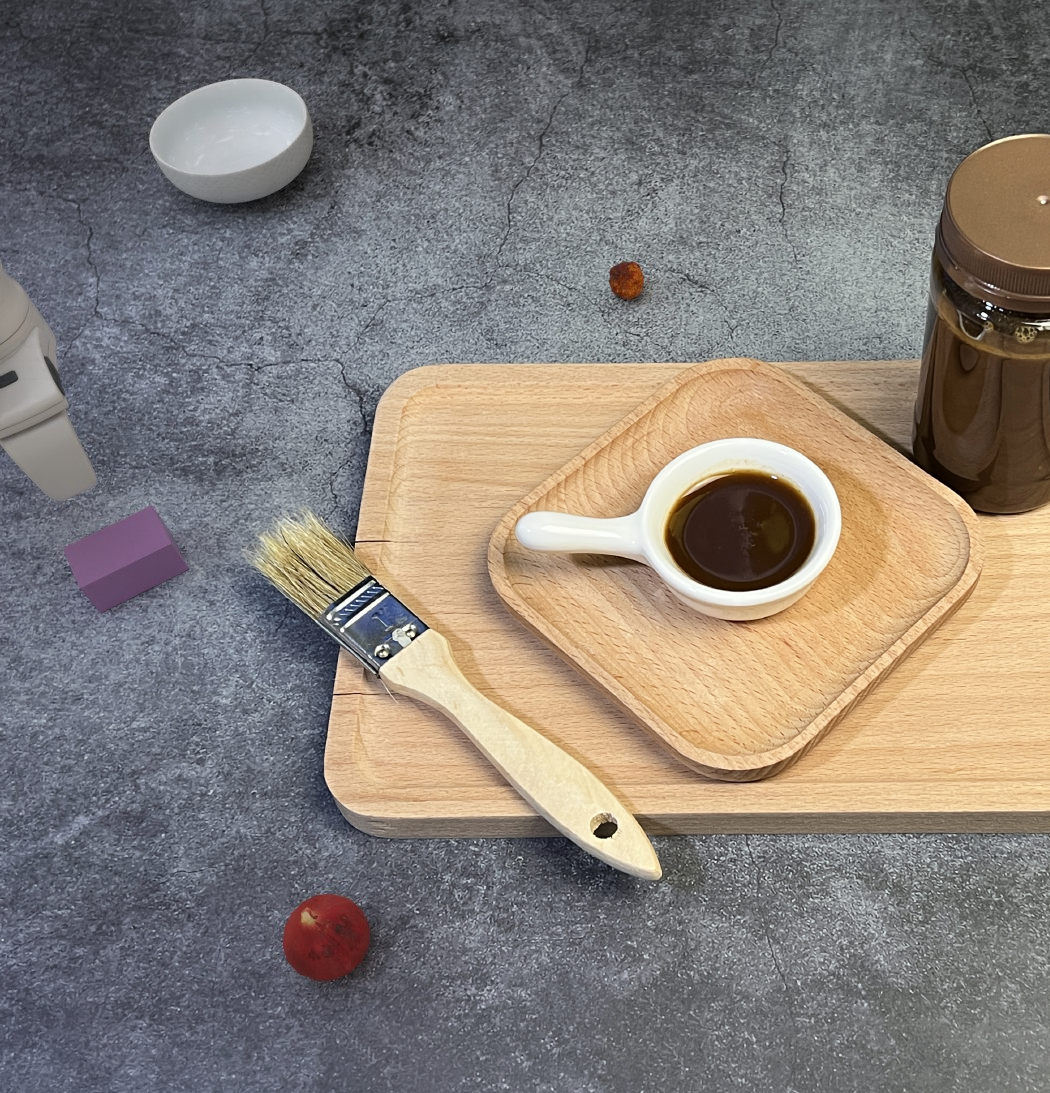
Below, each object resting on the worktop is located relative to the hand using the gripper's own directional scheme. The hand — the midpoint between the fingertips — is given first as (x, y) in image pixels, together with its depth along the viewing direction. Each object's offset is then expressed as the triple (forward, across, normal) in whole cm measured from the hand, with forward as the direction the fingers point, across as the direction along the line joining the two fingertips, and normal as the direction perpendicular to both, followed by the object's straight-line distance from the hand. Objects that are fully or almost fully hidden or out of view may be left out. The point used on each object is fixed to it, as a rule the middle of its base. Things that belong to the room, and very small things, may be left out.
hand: (71, 455), depth 113 cm
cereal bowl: (+8, -36, +28) cm, 46 cm away
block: (+7, +9, 0) cm, 11 cm away
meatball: (+8, +5, +53) cm, 53 cm away
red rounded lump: (+7, +50, +1) cm, 51 cm away
